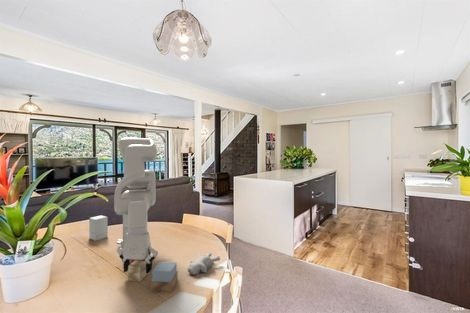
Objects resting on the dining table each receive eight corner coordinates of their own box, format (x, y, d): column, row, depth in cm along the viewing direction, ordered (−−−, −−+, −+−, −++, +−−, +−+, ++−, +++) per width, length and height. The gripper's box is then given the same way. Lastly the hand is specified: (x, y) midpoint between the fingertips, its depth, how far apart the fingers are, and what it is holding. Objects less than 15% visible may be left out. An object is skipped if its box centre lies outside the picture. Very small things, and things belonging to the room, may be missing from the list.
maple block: (128, 280, 92) (128, 265, 92) (135, 274, 97) (135, 260, 97) (139, 281, 91) (139, 266, 91) (146, 275, 96) (146, 261, 96)
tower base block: (151, 293, 84) (151, 282, 84) (157, 281, 92) (157, 271, 92) (172, 292, 84) (172, 282, 84) (177, 280, 92) (177, 271, 92)
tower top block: (152, 281, 85) (152, 270, 85) (159, 271, 92) (159, 261, 92) (170, 282, 84) (170, 271, 84) (176, 272, 91) (176, 262, 91)
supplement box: (108, 237, 139) (108, 216, 139) (95, 241, 133) (95, 219, 133) (101, 234, 143) (101, 214, 143) (88, 238, 137) (89, 217, 137)
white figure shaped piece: (182, 262, 99) (207, 247, 111) (183, 273, 100) (208, 257, 111) (197, 269, 93) (221, 253, 105) (198, 281, 94) (222, 263, 105)
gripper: (112, 231, 91) (112, 274, 91) (153, 233, 89) (152, 277, 89) (123, 226, 99) (123, 265, 98) (161, 227, 96) (161, 268, 96)
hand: (137, 271), depth 94 cm, fingers open, 9 cm apart
